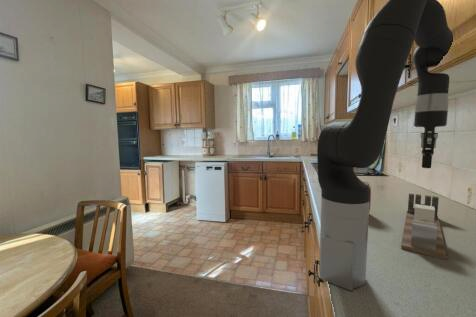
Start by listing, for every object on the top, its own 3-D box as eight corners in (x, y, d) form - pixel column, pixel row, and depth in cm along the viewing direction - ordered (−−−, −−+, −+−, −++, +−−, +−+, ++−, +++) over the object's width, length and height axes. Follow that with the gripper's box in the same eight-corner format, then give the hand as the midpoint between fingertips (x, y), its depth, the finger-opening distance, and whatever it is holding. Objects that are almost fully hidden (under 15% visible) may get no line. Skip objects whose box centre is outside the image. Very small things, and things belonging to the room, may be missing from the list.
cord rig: (446, 259, 56) (449, 227, 55) (401, 248, 61) (402, 219, 60) (437, 218, 83) (439, 196, 82) (406, 213, 88) (408, 192, 88)
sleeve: (433, 233, 64) (435, 210, 63) (413, 229, 66) (414, 207, 66) (432, 229, 67) (434, 206, 66) (413, 225, 69) (415, 203, 69)
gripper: (450, 107, 61) (444, 171, 63) (445, 111, 71) (440, 166, 73) (414, 109, 65) (410, 169, 67) (415, 113, 76) (411, 164, 78)
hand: (426, 167), depth 70 cm, fingers closed
